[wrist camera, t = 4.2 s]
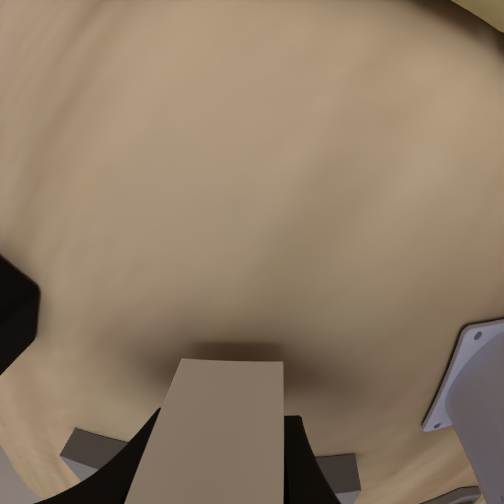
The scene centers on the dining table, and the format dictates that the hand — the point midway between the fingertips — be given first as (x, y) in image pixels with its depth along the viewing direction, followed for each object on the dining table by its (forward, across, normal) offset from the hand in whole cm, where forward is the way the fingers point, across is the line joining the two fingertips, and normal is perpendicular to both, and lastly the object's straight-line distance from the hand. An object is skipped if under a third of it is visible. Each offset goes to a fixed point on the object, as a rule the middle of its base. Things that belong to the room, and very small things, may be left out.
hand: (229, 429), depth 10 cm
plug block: (+2, 0, 0) cm, 2 cm away
